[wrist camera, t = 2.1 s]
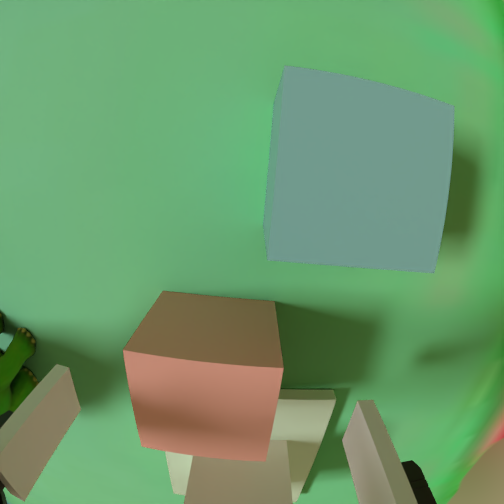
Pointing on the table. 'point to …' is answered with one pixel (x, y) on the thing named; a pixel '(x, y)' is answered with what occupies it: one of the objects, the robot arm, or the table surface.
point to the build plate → (287, 425)
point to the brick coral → (206, 375)
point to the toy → (16, 370)
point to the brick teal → (356, 173)
